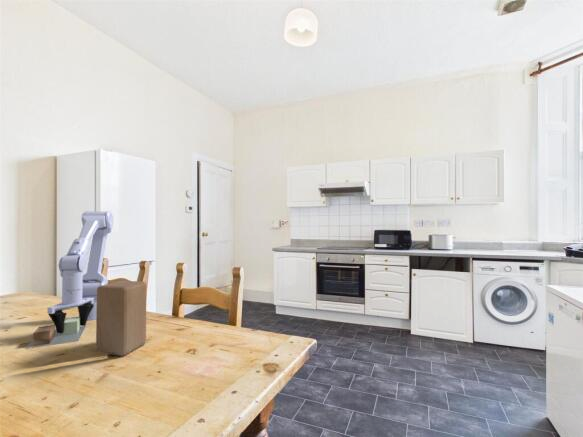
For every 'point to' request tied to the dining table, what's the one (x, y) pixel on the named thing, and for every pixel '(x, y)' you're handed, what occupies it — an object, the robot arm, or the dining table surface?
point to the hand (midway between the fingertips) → (71, 328)
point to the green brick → (71, 325)
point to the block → (121, 317)
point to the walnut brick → (43, 335)
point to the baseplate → (61, 338)
